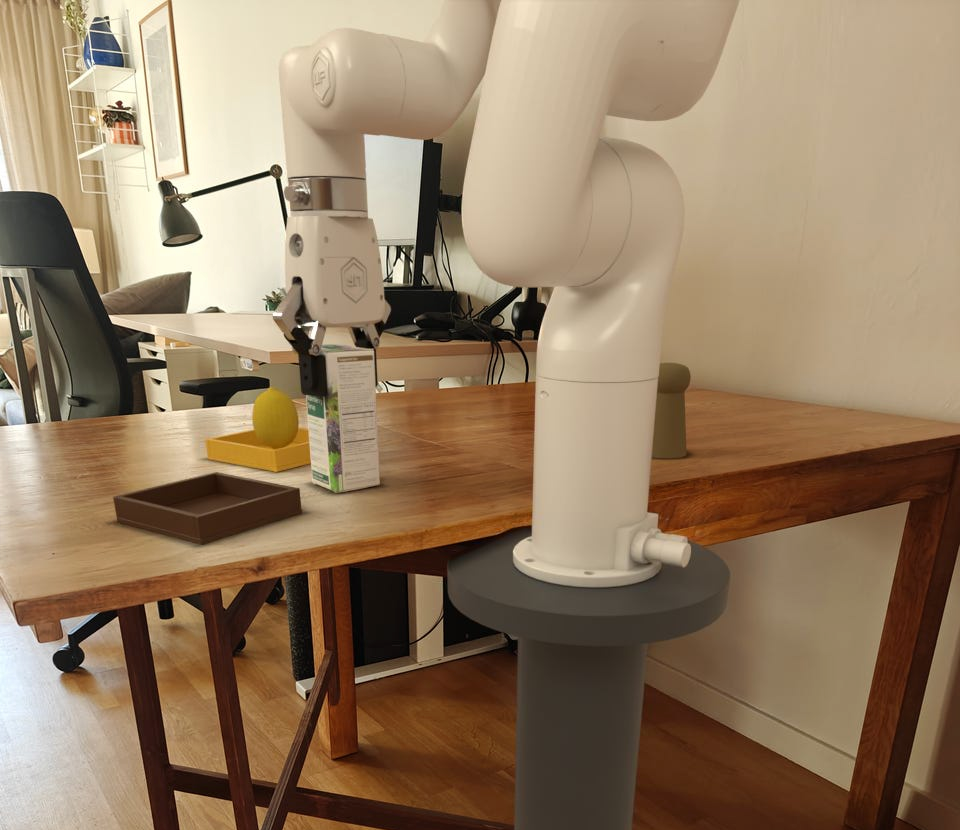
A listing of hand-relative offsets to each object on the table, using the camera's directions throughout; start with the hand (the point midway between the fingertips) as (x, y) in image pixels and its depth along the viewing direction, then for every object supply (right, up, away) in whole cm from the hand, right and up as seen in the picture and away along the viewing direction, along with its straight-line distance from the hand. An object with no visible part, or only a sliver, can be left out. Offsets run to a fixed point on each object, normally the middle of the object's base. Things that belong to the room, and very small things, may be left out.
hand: (340, 389), depth 91 cm
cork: (+38, -3, +19) cm, 43 cm away
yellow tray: (-11, -3, +17) cm, 21 cm away
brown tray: (-11, -15, -8) cm, 20 cm away
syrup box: (0, -9, +4) cm, 10 cm away
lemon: (-10, -3, +17) cm, 20 cm away
